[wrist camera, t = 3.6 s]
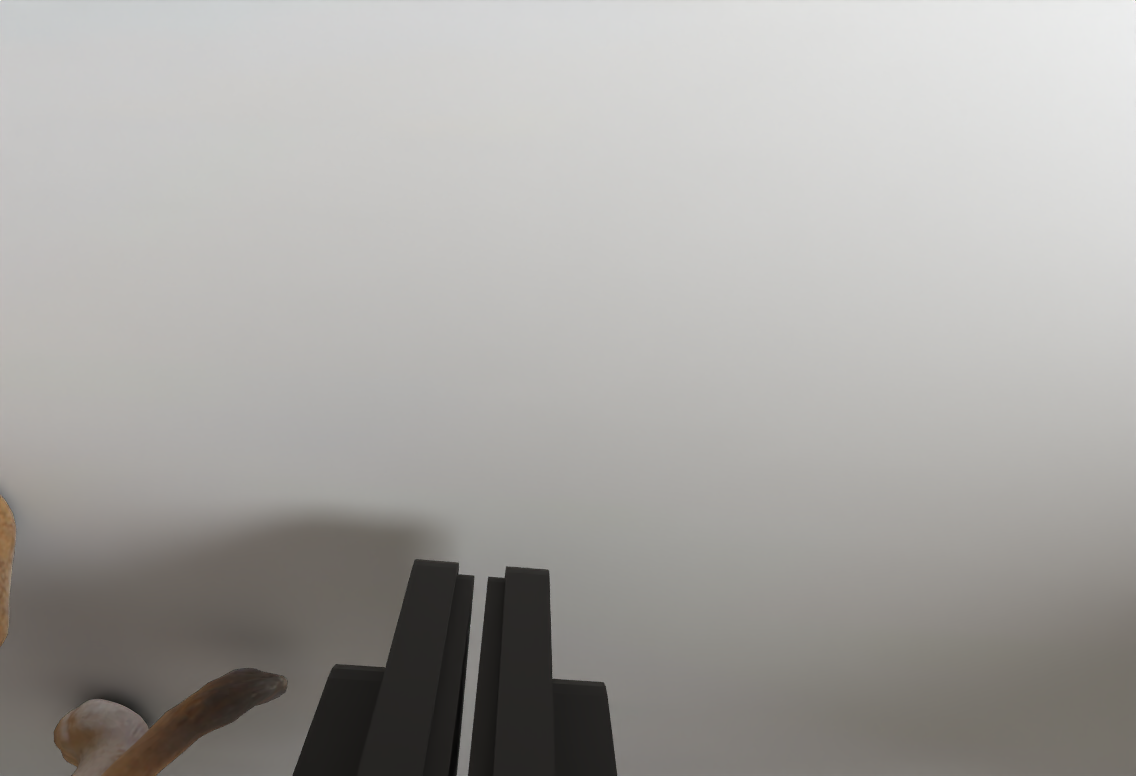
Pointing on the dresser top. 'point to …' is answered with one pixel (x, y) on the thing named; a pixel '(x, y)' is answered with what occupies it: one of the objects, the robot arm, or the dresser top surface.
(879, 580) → the dresser top surface
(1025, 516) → the dresser top surface
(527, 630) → the robot arm
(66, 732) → the lion figurine
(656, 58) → the dresser top surface
